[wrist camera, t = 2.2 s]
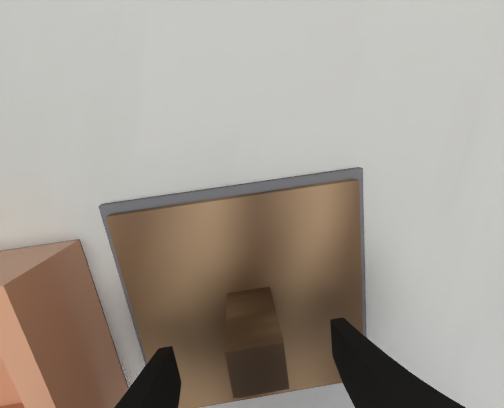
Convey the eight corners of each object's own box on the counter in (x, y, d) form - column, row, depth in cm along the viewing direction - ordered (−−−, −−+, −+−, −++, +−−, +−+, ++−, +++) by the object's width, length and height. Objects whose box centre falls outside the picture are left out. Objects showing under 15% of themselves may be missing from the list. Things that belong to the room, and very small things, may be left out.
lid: (353, 178, 13) (414, 195, 9) (359, 370, 16) (407, 455, 12) (110, 213, 13) (43, 251, 8) (165, 404, 16) (138, 505, 11)
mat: (358, 167, 13) (362, 167, 13) (364, 369, 17) (367, 374, 16) (102, 204, 13) (98, 205, 13) (161, 404, 16) (159, 411, 16)
